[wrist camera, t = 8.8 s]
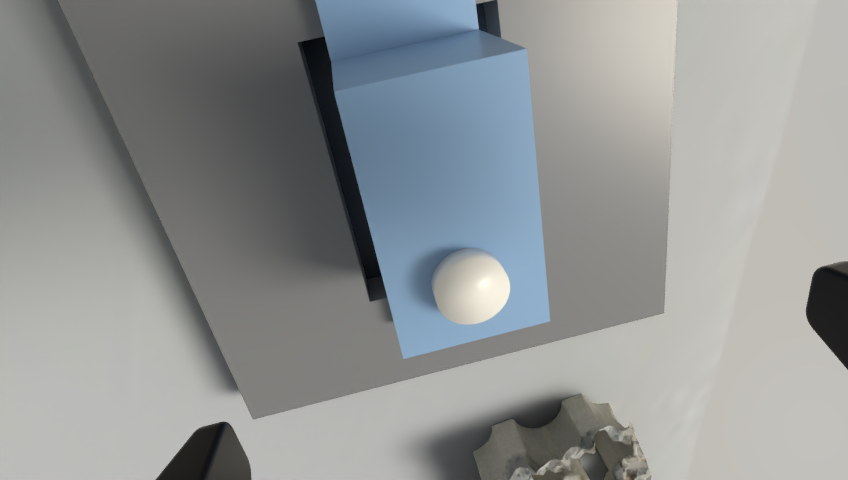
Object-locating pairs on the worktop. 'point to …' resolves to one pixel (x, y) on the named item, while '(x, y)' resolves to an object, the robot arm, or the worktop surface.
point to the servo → (442, 166)
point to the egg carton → (563, 446)
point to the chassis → (322, 194)
